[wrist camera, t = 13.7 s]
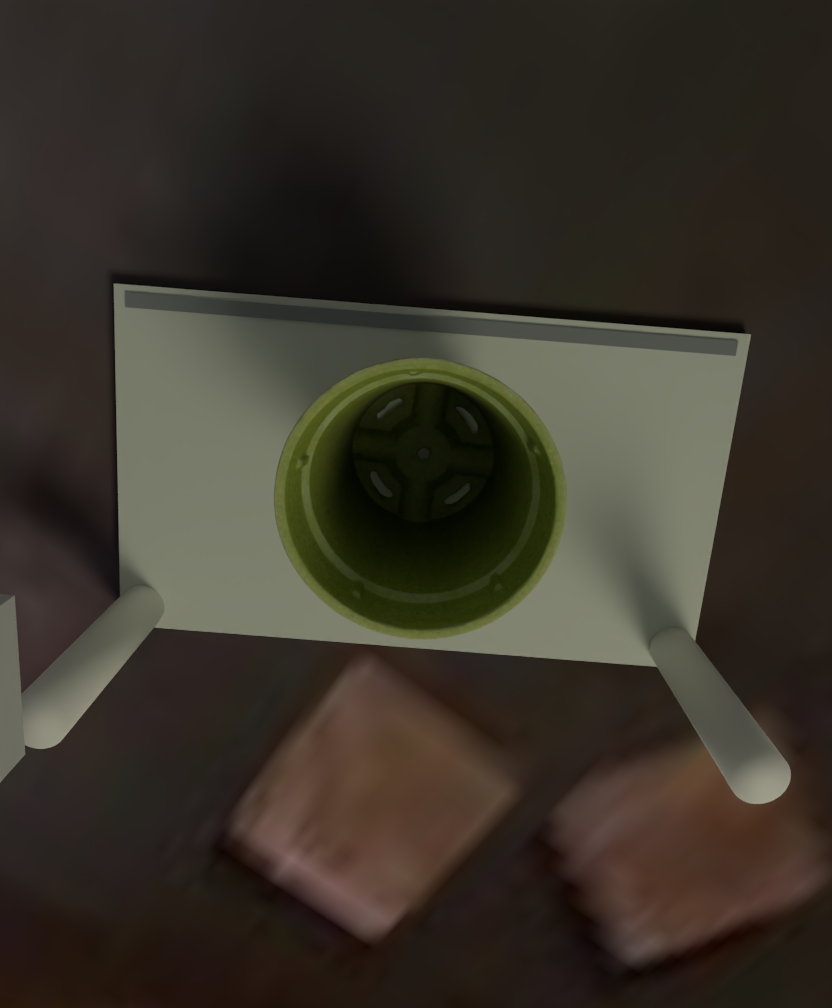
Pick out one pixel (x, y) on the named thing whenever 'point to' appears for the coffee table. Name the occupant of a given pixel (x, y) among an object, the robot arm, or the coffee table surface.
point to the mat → (251, 480)
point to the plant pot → (420, 499)
